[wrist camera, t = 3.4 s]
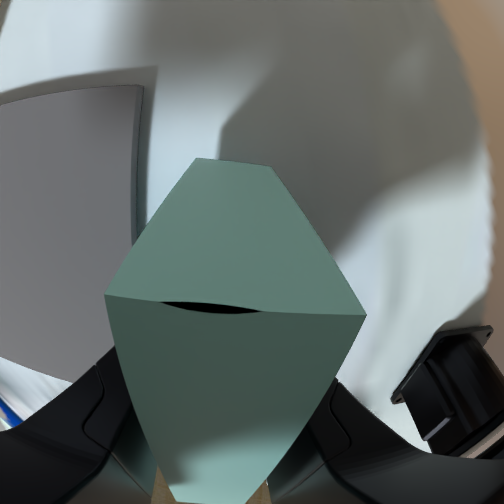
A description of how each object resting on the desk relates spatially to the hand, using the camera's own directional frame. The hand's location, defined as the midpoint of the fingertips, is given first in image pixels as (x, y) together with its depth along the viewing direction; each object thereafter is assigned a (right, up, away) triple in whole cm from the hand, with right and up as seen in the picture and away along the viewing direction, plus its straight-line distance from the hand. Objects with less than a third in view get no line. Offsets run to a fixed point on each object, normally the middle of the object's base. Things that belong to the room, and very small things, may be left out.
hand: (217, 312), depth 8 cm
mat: (-11, +1, +1) cm, 11 cm away
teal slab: (0, +1, +1) cm, 1 cm away
